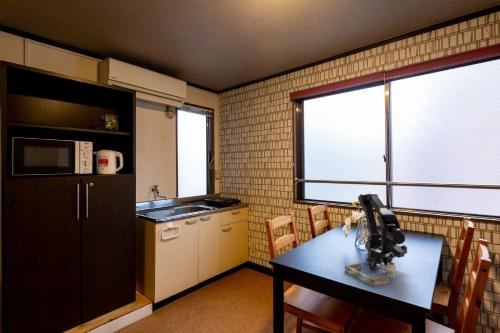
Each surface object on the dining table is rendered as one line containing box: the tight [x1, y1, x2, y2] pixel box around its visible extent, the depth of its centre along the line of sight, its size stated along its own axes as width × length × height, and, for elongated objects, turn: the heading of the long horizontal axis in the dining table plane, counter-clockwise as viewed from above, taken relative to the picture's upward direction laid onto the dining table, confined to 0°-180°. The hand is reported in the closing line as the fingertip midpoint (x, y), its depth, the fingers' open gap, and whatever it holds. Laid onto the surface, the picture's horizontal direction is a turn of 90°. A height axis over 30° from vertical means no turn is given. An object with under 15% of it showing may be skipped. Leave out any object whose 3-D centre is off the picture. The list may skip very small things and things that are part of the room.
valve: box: [368, 257, 397, 279], centre depth 122 cm, size 7×7×12 cm
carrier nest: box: [344, 262, 390, 288], centre depth 119 cm, size 17×10×3 cm, turn 22°
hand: (387, 268), depth 125 cm, fingers closed
